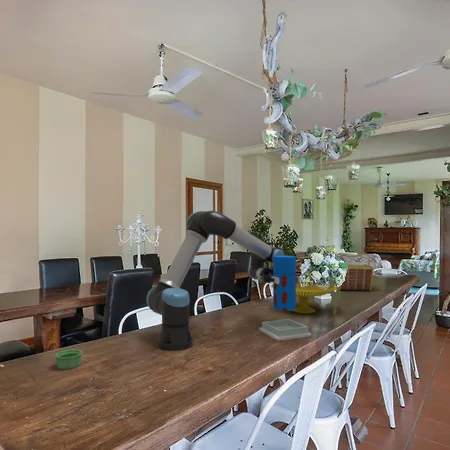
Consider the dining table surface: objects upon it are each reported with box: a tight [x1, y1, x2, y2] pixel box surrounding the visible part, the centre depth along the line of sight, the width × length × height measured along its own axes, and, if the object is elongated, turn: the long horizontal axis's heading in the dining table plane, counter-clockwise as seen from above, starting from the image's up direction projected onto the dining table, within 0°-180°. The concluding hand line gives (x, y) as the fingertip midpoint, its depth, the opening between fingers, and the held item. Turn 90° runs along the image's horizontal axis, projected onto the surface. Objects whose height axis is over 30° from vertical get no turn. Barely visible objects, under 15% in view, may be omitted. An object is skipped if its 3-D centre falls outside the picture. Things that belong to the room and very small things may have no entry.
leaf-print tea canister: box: [272, 255, 297, 312], centre depth 171 cm, size 11×11×25 cm
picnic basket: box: [337, 253, 375, 292], centre depth 298 cm, size 29×26×30 cm
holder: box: [258, 318, 312, 341], centre depth 171 cm, size 18×18×4 cm
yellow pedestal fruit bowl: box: [270, 281, 338, 314], centre depth 219 cm, size 40×40×15 cm
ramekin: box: [54, 349, 83, 370], centre depth 130 cm, size 9×9×4 cm
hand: (289, 280), depth 167 cm, fingers closed on leaf-print tea canister, 11 cm apart
